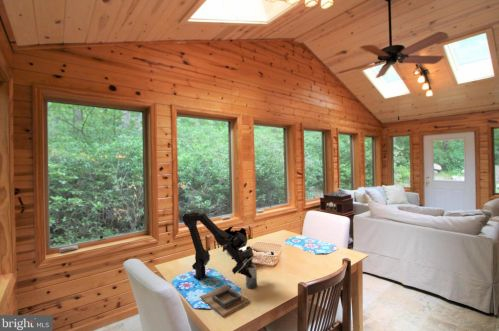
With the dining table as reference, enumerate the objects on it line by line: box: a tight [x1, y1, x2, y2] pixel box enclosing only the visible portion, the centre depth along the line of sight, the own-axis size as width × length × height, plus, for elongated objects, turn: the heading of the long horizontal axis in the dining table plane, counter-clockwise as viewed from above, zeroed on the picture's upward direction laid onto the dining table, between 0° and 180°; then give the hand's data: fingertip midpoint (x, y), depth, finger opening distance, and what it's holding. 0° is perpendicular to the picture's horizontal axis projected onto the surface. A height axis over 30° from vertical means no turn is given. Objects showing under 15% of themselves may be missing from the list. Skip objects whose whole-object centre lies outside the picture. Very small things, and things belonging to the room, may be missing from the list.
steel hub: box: [245, 263, 258, 290], centre depth 137 cm, size 6×6×11 cm
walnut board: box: [199, 284, 251, 318], centre depth 123 cm, size 20×16×3 cm
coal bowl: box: [222, 226, 248, 249], centre depth 187 cm, size 20×20×19 cm
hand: (253, 274), depth 136 cm, fingers closed on steel hub, 6 cm apart
